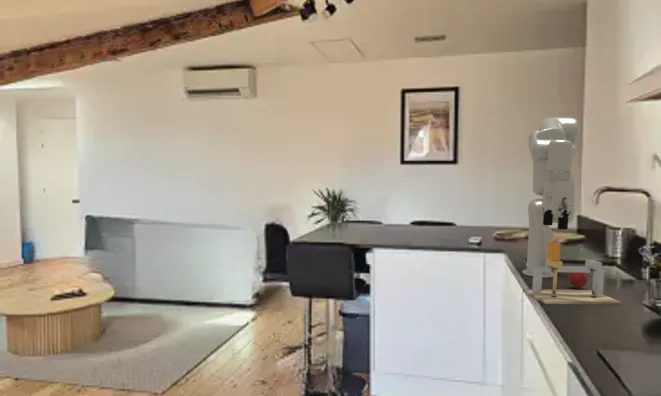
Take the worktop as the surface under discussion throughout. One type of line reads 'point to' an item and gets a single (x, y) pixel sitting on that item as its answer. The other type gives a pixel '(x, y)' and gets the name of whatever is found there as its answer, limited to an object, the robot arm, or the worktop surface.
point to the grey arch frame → (590, 267)
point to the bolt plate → (572, 297)
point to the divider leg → (554, 261)
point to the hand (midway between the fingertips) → (554, 227)
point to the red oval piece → (578, 279)
